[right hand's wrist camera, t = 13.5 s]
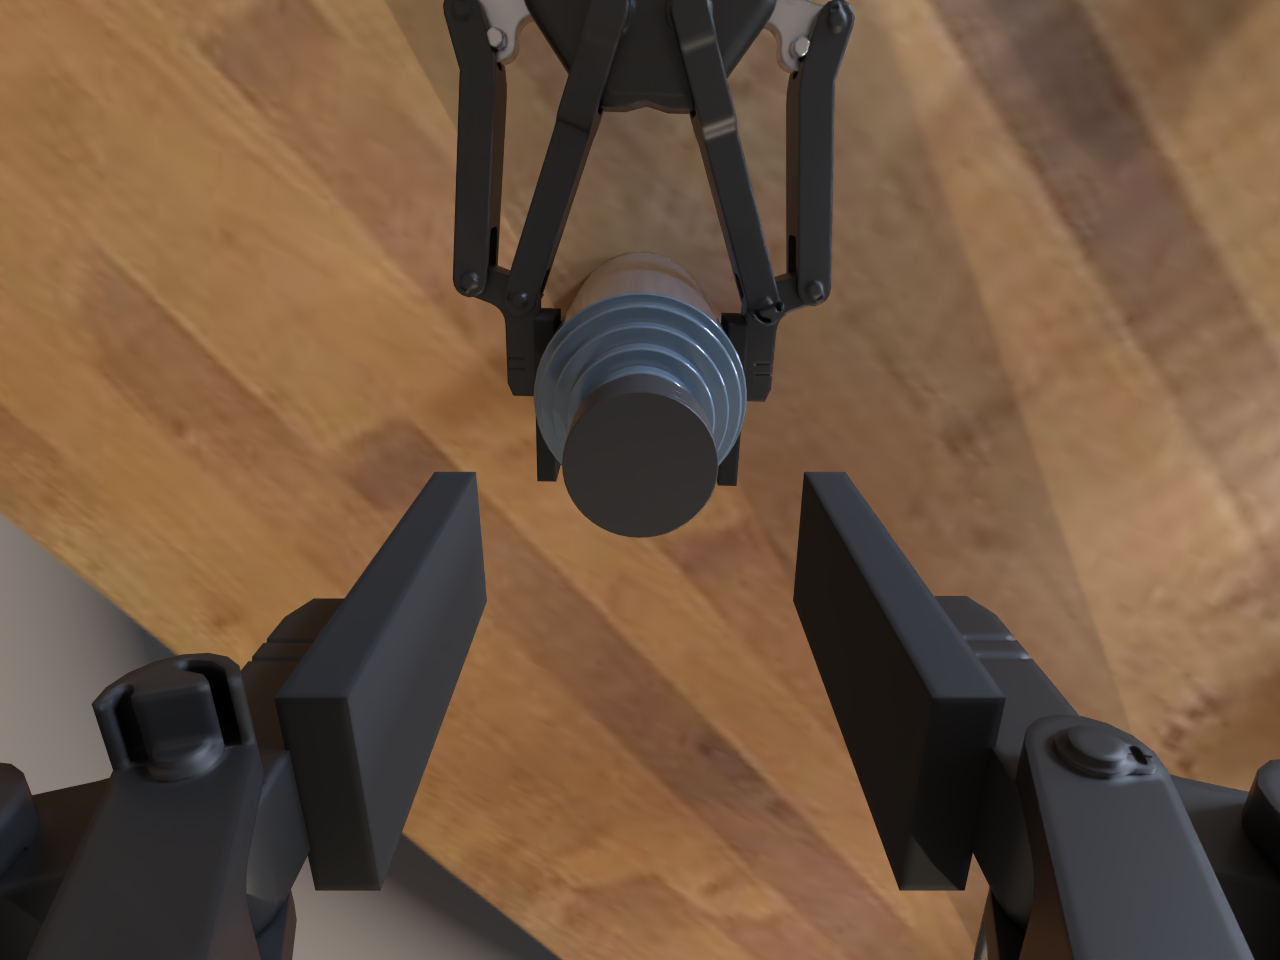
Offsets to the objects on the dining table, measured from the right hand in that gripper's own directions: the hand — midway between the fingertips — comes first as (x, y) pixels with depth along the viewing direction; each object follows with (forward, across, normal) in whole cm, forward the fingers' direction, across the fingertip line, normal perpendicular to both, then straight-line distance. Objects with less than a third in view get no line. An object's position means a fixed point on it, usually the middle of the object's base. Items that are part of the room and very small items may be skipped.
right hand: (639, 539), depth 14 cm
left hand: (+17, 0, -5) cm, 18 cm away
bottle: (+24, 0, 0) cm, 24 cm away
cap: (+4, 0, 0) cm, 4 cm away
